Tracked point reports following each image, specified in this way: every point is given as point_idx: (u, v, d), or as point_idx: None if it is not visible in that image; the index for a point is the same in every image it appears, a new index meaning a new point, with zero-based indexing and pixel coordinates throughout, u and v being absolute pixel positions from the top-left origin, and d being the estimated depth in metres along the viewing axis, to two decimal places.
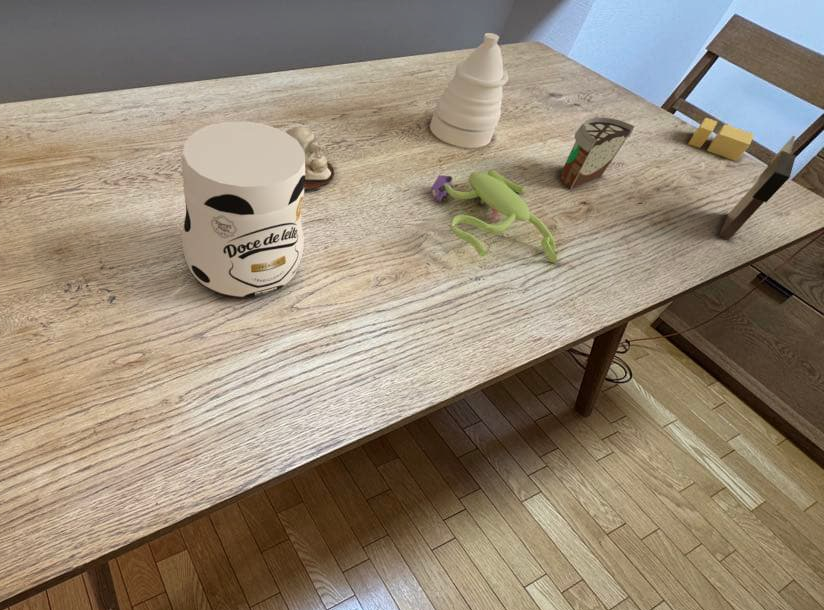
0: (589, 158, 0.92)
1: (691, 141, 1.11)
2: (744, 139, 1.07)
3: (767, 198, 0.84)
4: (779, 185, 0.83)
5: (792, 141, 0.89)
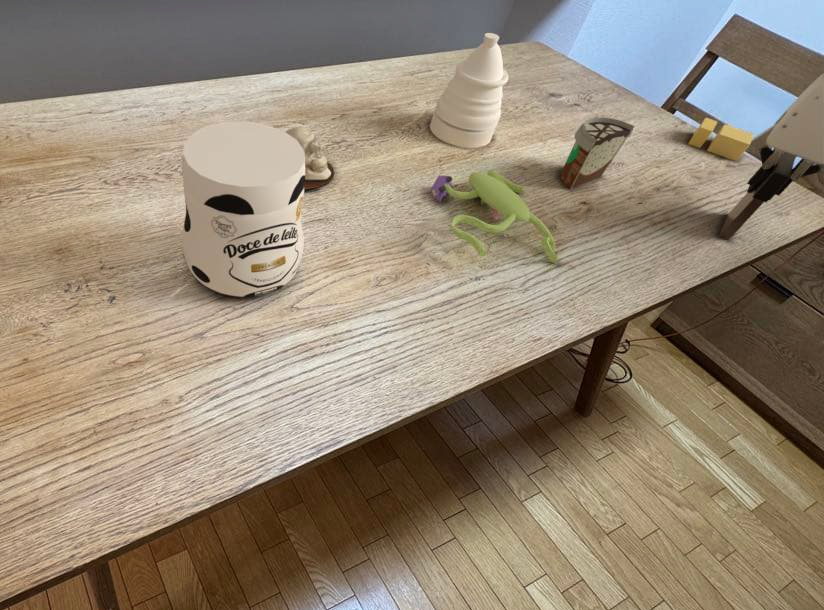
0: (589, 158, 0.92)
1: (691, 141, 1.11)
2: (744, 139, 1.07)
3: (767, 198, 0.84)
4: (779, 185, 0.83)
5: None
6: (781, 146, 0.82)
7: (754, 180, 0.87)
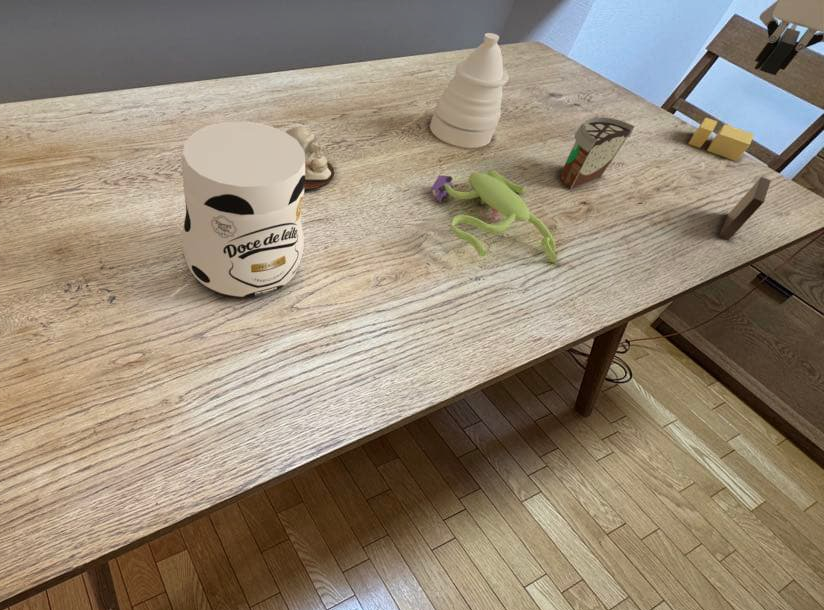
0: (589, 158, 0.92)
1: (691, 141, 1.11)
2: (744, 139, 1.07)
3: (773, 69, 0.90)
4: (785, 55, 0.88)
5: None
6: (786, 17, 0.87)
7: (761, 56, 0.93)
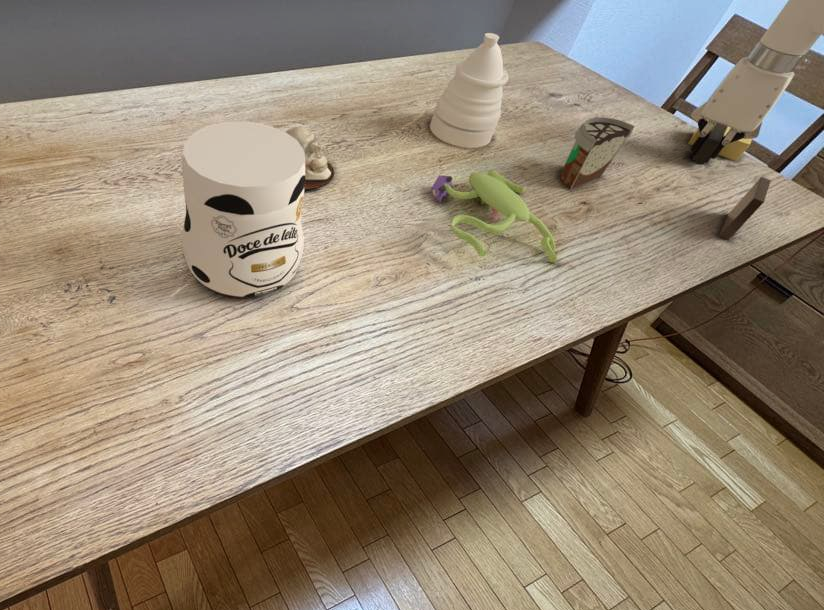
0: (589, 158, 0.92)
1: (691, 141, 1.11)
2: (744, 139, 1.07)
3: (703, 160, 1.04)
4: (712, 149, 1.02)
5: None
6: (712, 117, 1.01)
7: (694, 146, 1.06)
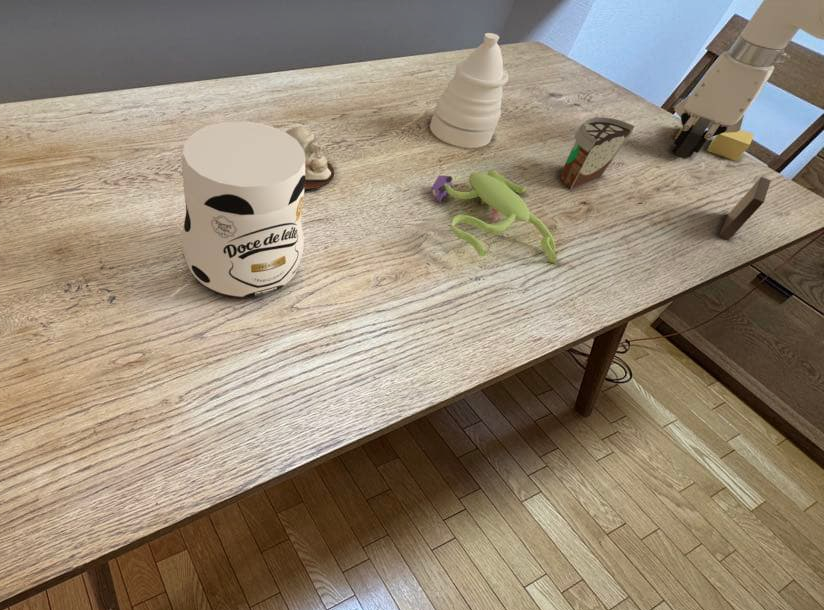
0: (589, 158, 0.92)
1: (677, 136, 1.12)
2: (744, 139, 1.07)
3: (686, 154, 1.05)
4: (694, 143, 1.03)
5: None
6: (695, 111, 1.02)
7: (678, 140, 1.07)
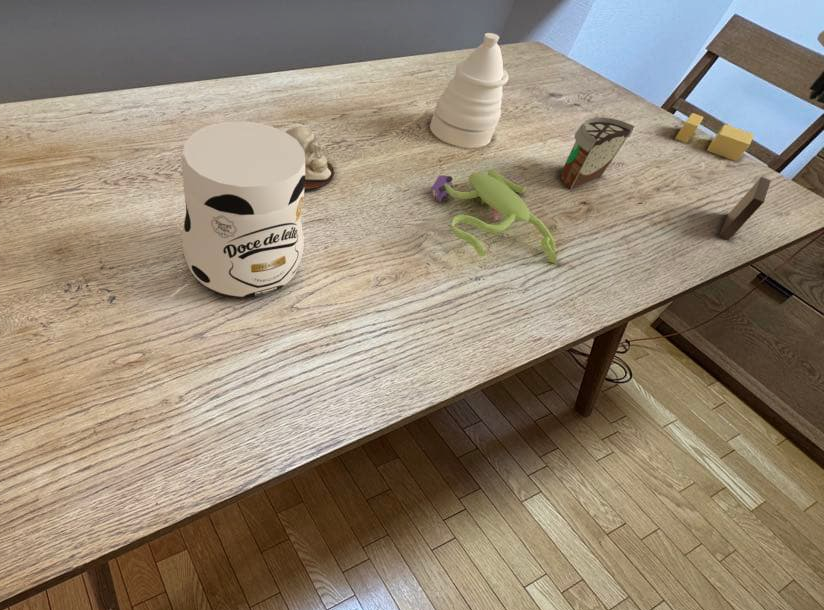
0: (589, 158, 0.92)
1: (677, 136, 1.12)
2: (744, 139, 1.07)
3: None
4: None
5: None
6: None
7: (818, 84, 0.78)
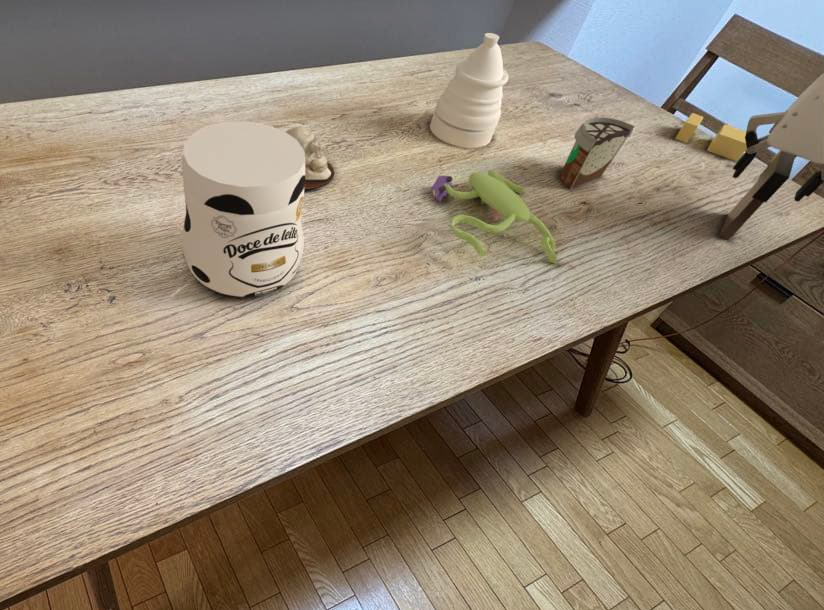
0: (589, 158, 0.92)
1: (677, 136, 1.12)
2: (744, 139, 1.07)
3: (767, 198, 0.84)
4: (779, 185, 0.83)
5: None
6: (781, 146, 0.82)
7: (739, 165, 0.87)
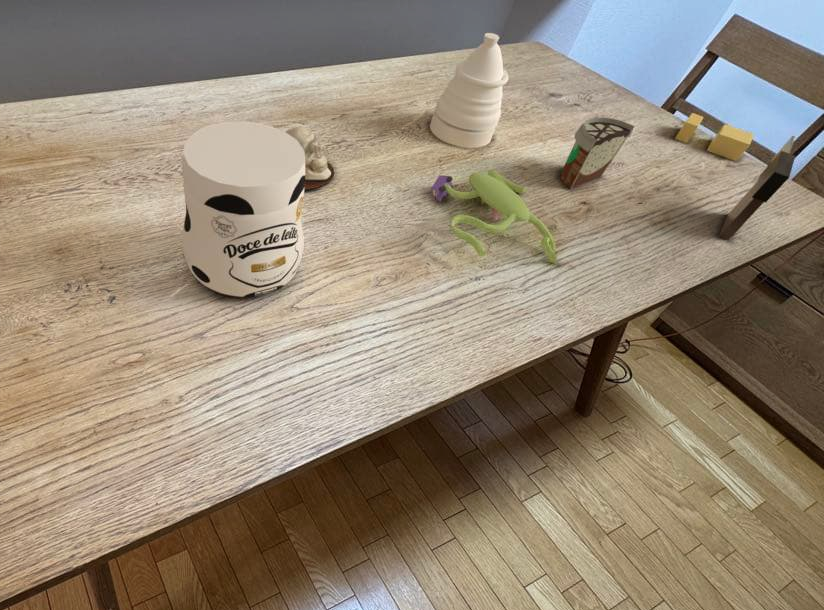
0: (589, 158, 0.92)
1: (677, 136, 1.12)
2: (744, 139, 1.07)
3: (767, 198, 0.84)
4: (779, 185, 0.83)
5: (792, 141, 0.89)
6: None
7: None
